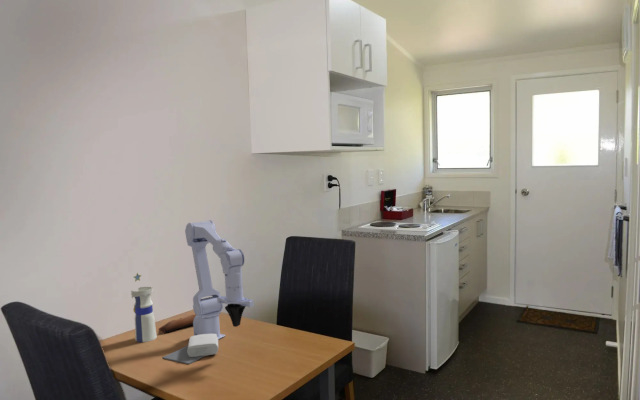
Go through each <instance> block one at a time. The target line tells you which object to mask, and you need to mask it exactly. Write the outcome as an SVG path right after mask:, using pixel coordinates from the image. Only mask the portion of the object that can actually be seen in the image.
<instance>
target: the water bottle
mask: <svg viewBox="0 0 640 400" xmlns="http://www.w3.org/2000/svg"><path fill="white" fill-rule="evenodd" d="M141 277H142V274H139V273H138V272H136V274H135V275H134V276H133V278H134V282H137V281H141V279H140V278H141ZM137 290H138V291H133V290H131V291H130V292H131V293H130V295H131V298H132V299H133V298H134V301H135V302H134V304H133V313H134V330H135V332H134V336H135V337H134V338H135V342H136V341H137V342H138V343H146V342H151V341H154V340H156V339H157V338H158V336H157V328H156V319H155V318H156V317H155V313H154V311H153V305H154V302H153V301H152V294H153V293H154V292H155V290H154V288H153V287H151V286H140V287H138V288H137Z"/></svg>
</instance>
